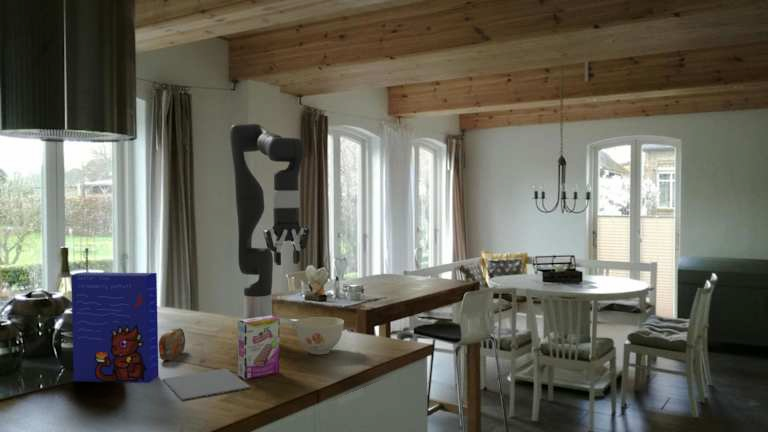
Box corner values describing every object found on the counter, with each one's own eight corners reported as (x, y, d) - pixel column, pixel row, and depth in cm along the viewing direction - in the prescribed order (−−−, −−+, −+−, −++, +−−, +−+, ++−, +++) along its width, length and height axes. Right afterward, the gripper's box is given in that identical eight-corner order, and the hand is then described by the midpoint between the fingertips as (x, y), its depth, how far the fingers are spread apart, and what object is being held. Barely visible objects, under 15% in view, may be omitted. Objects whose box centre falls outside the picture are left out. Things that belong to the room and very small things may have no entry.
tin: (167, 363, 190) (166, 336, 189) (157, 363, 190) (156, 336, 190) (186, 351, 205) (185, 325, 204) (177, 350, 205) (176, 325, 205)
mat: (225, 370, 182) (225, 368, 182) (250, 388, 166) (250, 386, 166) (162, 380, 173) (162, 378, 173) (181, 400, 156) (181, 398, 156)
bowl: (285, 354, 199) (285, 324, 199) (313, 343, 213) (313, 315, 213) (327, 361, 192) (326, 329, 191) (353, 349, 206) (353, 319, 205)
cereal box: (158, 376, 176) (156, 272, 175) (148, 383, 170) (146, 275, 169) (86, 374, 179) (83, 271, 177) (73, 381, 173) (71, 274, 171)
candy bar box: (245, 381, 172) (244, 322, 171) (237, 376, 176) (236, 319, 175) (280, 373, 179) (280, 317, 178) (272, 369, 183) (271, 314, 182)
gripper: (303, 205, 187) (303, 261, 188) (258, 206, 180) (259, 264, 180) (314, 206, 181) (314, 264, 182) (268, 207, 173) (269, 267, 174)
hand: (287, 264), depth 181 cm, fingers open, 5 cm apart
